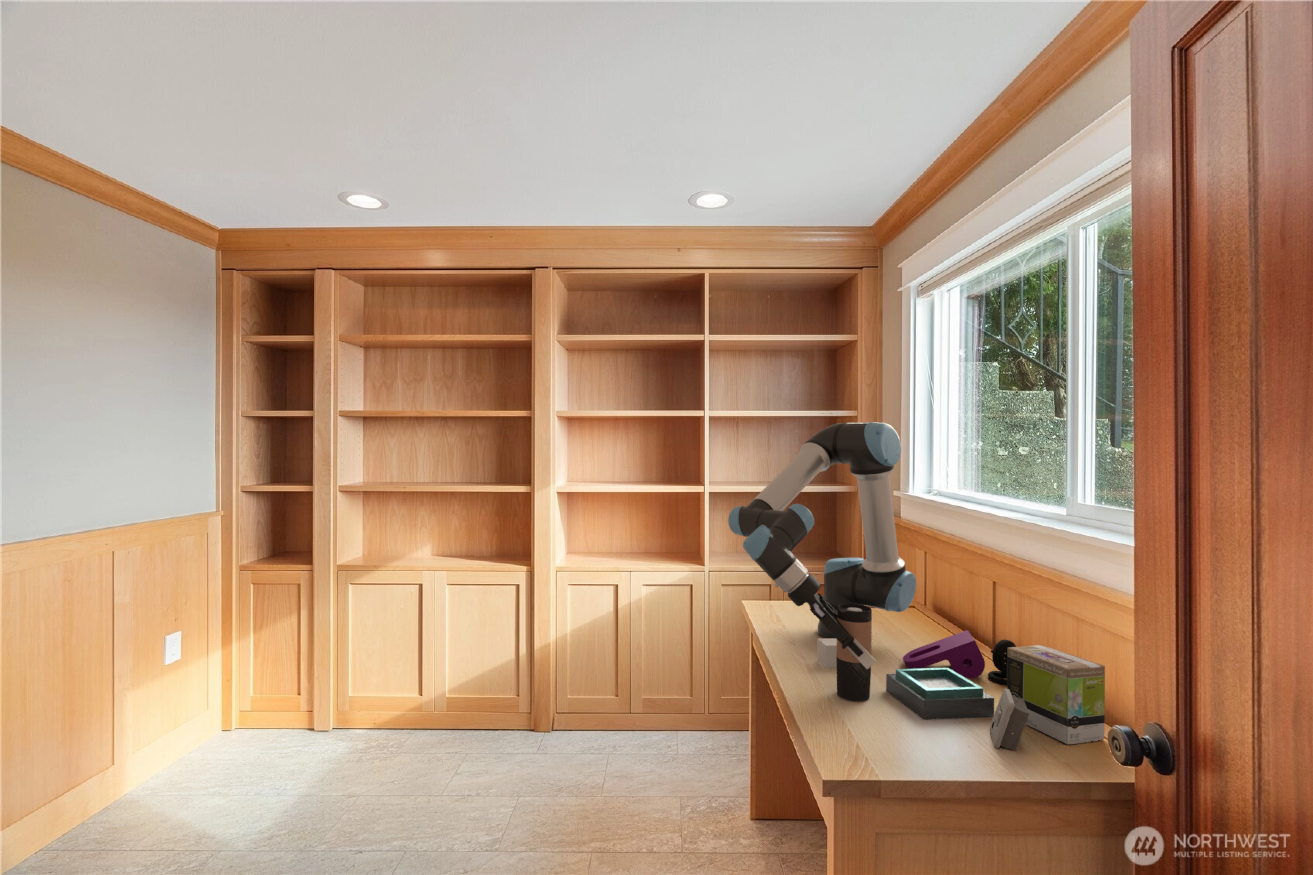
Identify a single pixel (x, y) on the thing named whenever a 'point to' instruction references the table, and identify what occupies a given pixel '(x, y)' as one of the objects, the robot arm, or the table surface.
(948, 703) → the block with teal frame
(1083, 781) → the table surface
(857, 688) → the travel mug
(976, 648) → the mounting bracket
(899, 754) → the table surface
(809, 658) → the table surface
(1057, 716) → the tea box
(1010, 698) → the electrical switch
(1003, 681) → the webcam
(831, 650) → the light grey cube
